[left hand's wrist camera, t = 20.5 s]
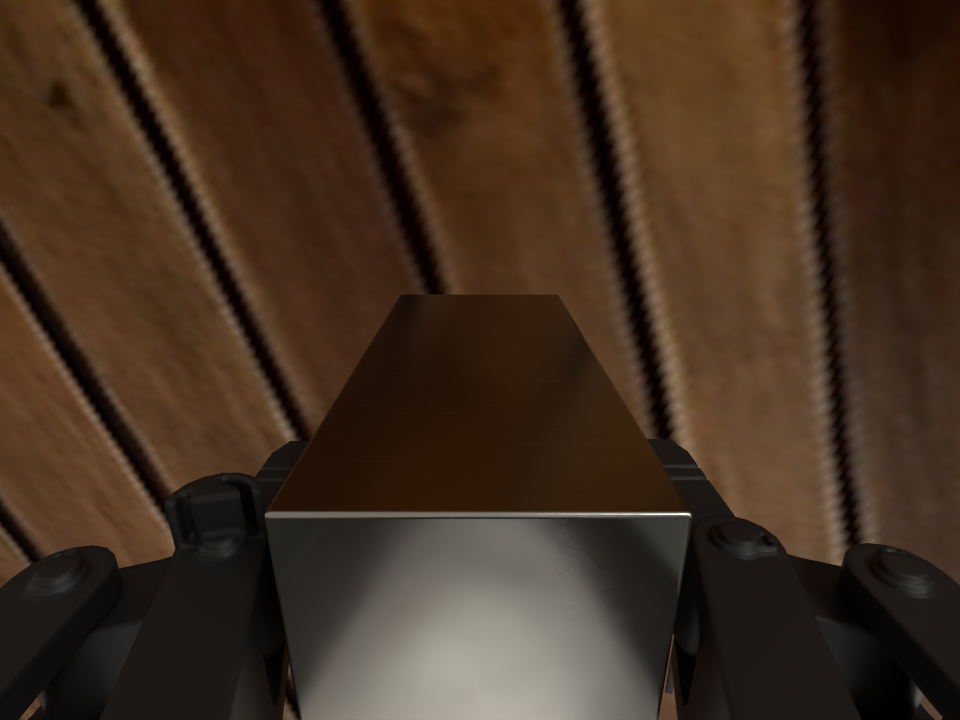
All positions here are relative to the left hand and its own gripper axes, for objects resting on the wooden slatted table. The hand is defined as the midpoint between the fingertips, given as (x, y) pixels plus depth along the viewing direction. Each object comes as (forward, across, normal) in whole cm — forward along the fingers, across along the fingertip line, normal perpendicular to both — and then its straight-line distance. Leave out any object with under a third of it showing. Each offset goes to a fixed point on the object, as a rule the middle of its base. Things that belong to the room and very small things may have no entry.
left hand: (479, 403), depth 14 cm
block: (+2, 0, 0) cm, 2 cm away
